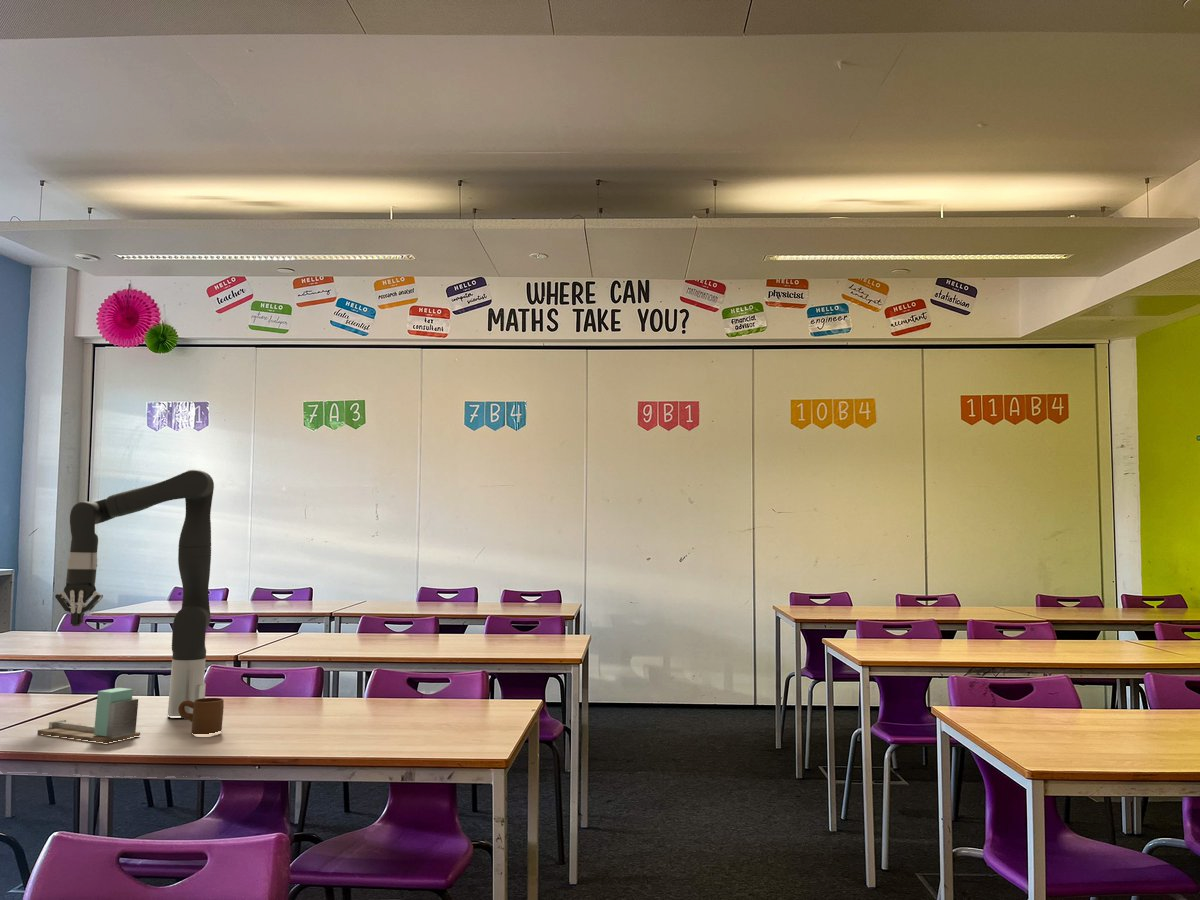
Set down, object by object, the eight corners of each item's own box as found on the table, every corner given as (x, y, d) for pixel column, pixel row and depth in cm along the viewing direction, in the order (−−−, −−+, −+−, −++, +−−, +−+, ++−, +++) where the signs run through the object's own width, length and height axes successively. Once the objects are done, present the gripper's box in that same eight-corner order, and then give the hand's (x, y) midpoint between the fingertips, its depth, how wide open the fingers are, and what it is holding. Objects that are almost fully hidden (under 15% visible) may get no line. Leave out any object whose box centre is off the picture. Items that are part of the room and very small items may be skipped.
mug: (169, 737, 224) (172, 701, 225) (183, 731, 231) (186, 696, 232) (213, 738, 224) (216, 702, 225) (226, 732, 231) (228, 697, 232)
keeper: (93, 734, 218) (98, 691, 220) (115, 730, 224) (119, 687, 226) (107, 736, 217) (111, 692, 218) (129, 731, 222) (132, 689, 224)
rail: (43, 729, 225) (46, 695, 226) (67, 724, 231) (71, 691, 233) (111, 738, 215) (115, 703, 217) (135, 733, 222) (138, 699, 223)
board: (37, 734, 223) (37, 730, 224) (72, 727, 233) (72, 723, 233) (106, 744, 214) (106, 739, 214) (139, 737, 223) (140, 732, 223)
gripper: (52, 567, 245) (46, 627, 243) (100, 568, 247) (94, 627, 245) (64, 567, 253) (58, 624, 251) (110, 567, 255) (105, 625, 253)
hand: (76, 625), depth 248 cm, fingers closed
